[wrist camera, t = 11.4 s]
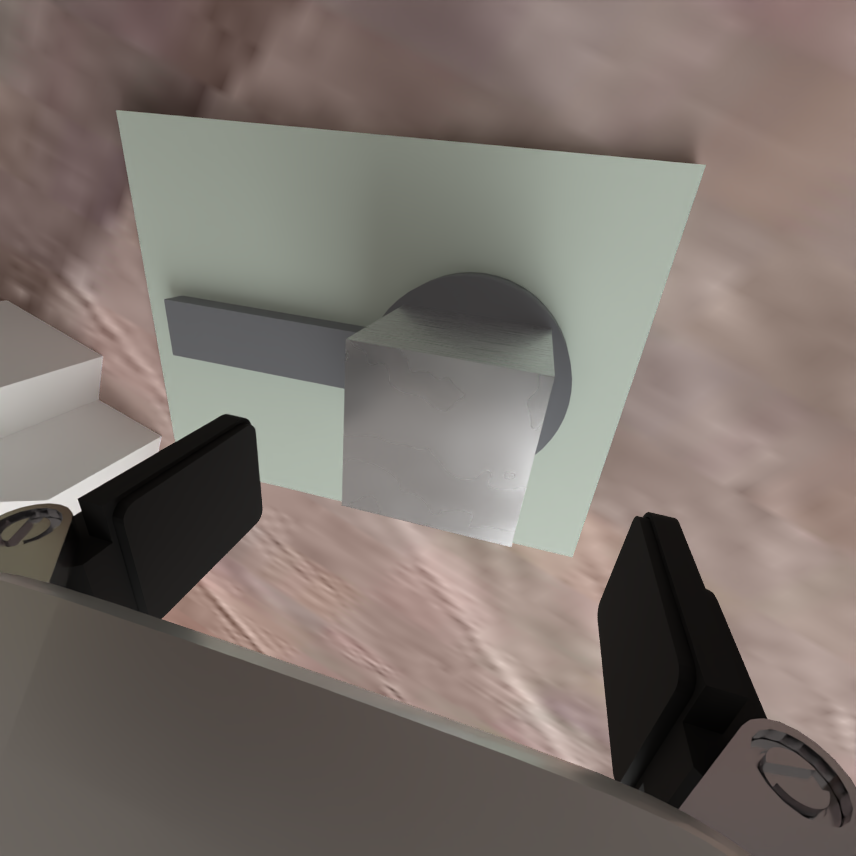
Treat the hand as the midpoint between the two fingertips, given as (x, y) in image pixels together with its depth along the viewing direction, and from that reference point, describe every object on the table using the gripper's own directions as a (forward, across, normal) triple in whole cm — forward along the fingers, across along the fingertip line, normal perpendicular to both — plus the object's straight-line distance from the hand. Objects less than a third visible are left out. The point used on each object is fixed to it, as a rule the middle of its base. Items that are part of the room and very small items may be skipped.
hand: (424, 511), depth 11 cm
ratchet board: (+12, +6, 0) cm, 13 cm away
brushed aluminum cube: (+9, +1, 0) cm, 9 cm away
